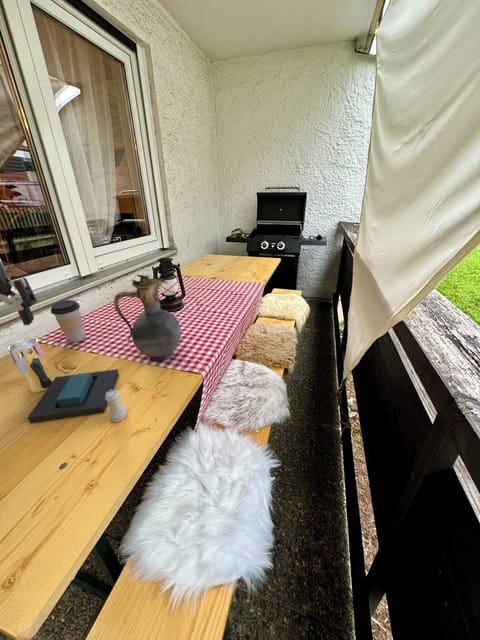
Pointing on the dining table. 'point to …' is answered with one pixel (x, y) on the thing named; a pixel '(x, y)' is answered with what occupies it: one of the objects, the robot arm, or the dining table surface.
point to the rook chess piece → (115, 406)
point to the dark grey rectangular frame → (93, 405)
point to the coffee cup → (69, 319)
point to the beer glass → (31, 363)
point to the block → (76, 390)
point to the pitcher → (151, 321)
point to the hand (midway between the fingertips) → (7, 325)
